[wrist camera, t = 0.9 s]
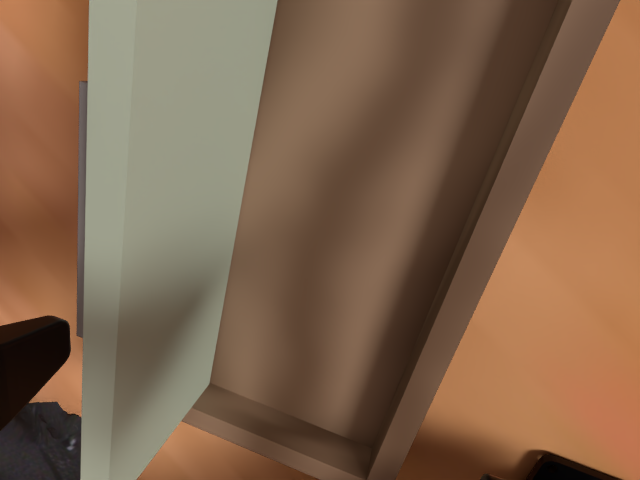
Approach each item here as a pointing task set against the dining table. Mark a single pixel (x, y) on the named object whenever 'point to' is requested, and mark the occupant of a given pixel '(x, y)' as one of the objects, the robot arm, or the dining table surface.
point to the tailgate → (159, 210)
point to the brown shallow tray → (380, 214)
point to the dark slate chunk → (41, 444)
